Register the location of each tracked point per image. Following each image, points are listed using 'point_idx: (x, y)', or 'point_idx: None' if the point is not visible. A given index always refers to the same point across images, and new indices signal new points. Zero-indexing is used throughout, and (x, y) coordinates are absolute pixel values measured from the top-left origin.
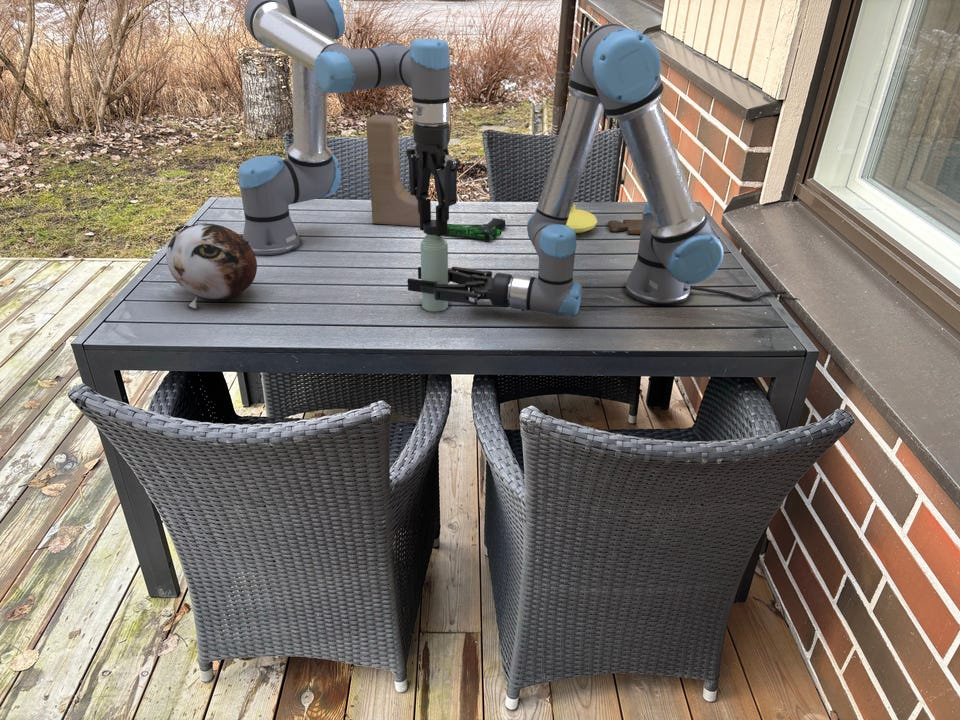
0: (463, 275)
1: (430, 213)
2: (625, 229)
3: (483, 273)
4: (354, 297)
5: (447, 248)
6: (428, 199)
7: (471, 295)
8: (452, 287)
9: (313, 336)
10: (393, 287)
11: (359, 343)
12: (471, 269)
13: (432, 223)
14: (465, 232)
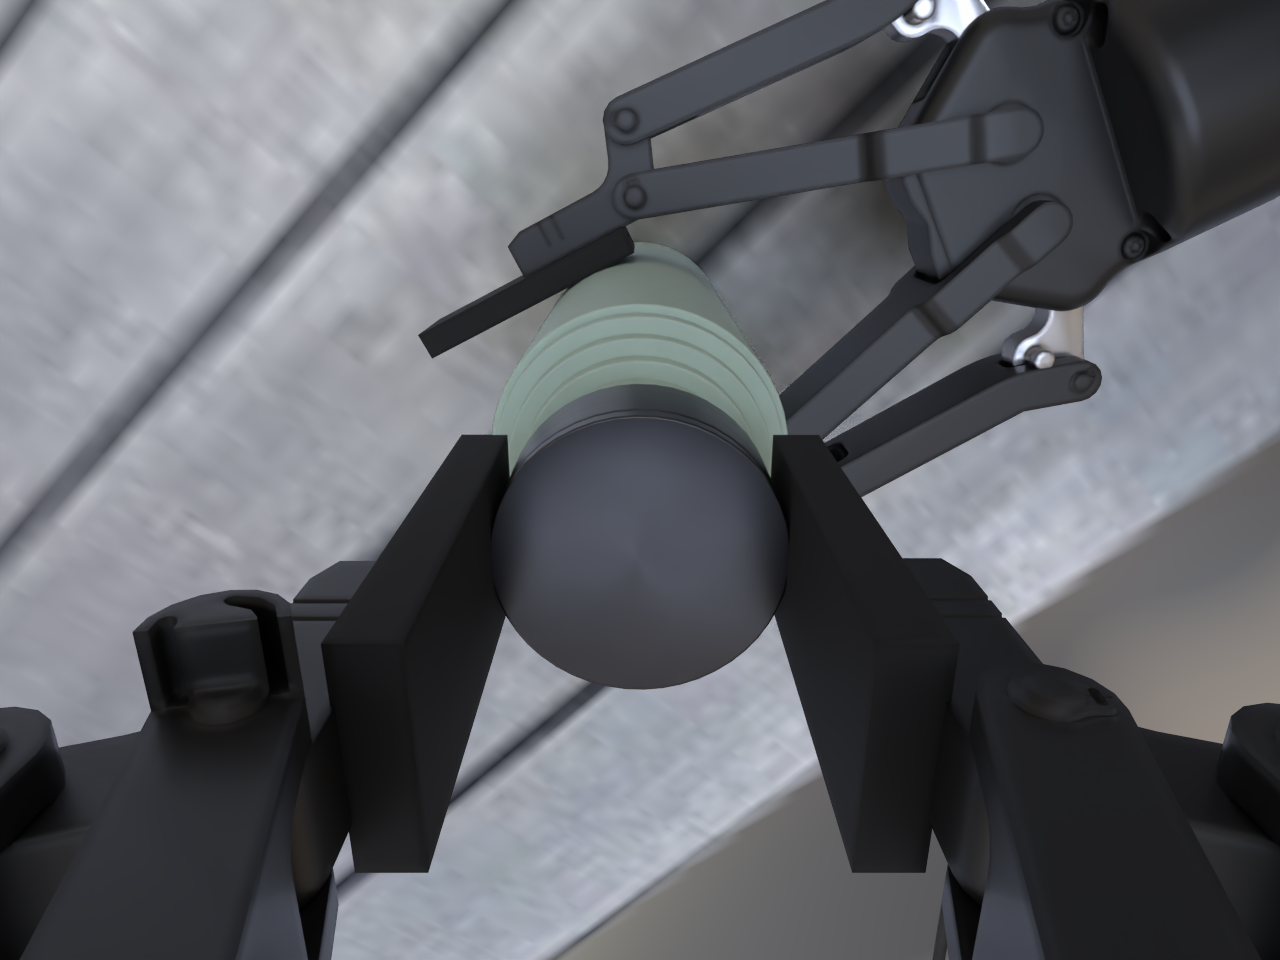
0: (799, 186)
1: (470, 521)
2: None
3: (904, 12)
4: (232, 572)
5: (757, 357)
6: (376, 677)
7: (1061, 403)
8: (862, 399)
9: (473, 906)
10: (250, 327)
11: (667, 827)
12: (771, 31)
13: (643, 583)
14: None
